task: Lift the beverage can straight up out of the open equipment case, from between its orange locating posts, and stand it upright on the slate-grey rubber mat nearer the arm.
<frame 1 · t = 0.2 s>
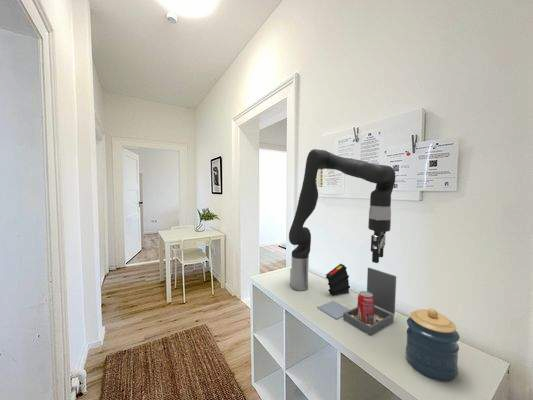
hand: (377, 259, 86), 27 cm above the table, tool pointing down, fingers open, 8 cm apart
rubber mat: (334, 310, 100), on the table
beverage can: (365, 323, 91), resting in equipment case
magazine: (337, 294, 116), on the table
canister: (430, 365, 69), on the table
equipment case: (368, 321, 92), on the table
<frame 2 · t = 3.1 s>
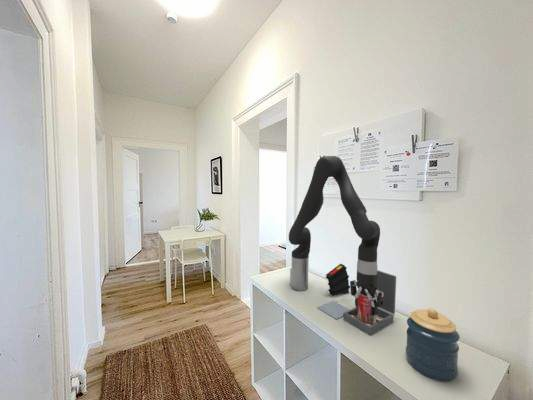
hand: (365, 310, 91), 5 cm above the table, tool pointing down, fingers closed on beverage can, 6 cm apart
beverage can: (365, 323, 91), resting in equipment case, touching gripper
everything else where it was.
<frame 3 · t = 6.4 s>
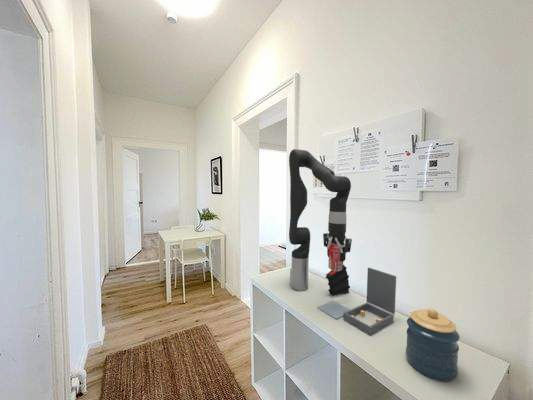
hand: (336, 258, 99), 23 cm above the table, tool pointing down, fingers closed on beverage can, 6 cm apart
beverage can: (335, 269, 100), point 18 cm above the table, touching gripper
everything else where it was.
when the fingers open (6 cm above the table, at t = 9.9 s): beverage can stays where it is, resting on rubber mat.
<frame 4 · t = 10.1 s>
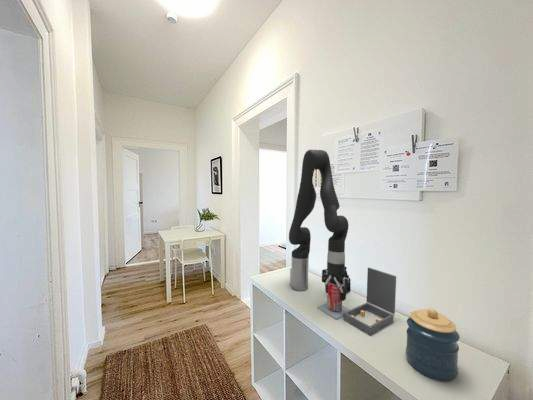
hand: (335, 296, 100), 6 cm above the table, tool pointing down, fingers open, 8 cm apart
beverage can: (334, 309, 100), resting on rubber mat
everything else where it was.
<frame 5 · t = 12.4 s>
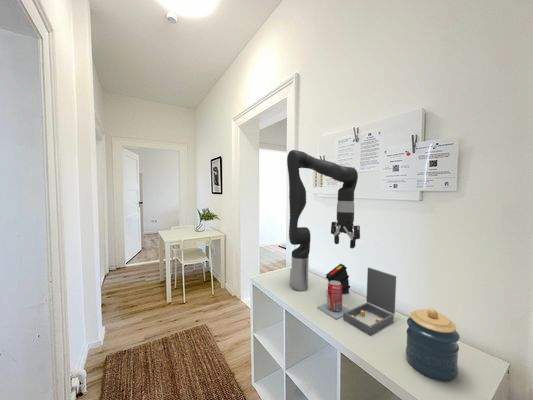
hand: (344, 246, 103), 28 cm above the table, tool pointing down, fingers open, 8 cm apart
nothing on the table moved.
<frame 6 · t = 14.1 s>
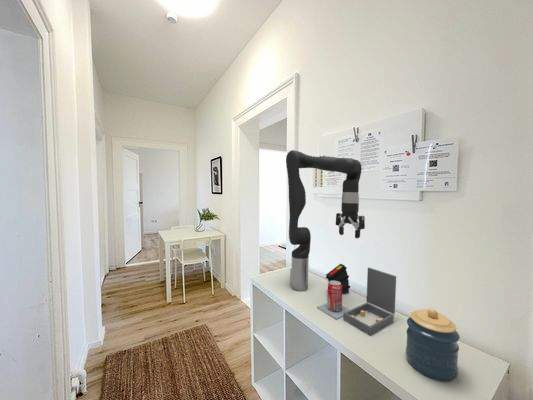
hand: (349, 236, 105), 32 cm above the table, tool pointing down, fingers open, 8 cm apart
nothing on the table moved.
at the end: beverage can inside the target area on the rubber mat (0.1 cm from its centre), point 0.3 cm above the rubber mat's base; beverage can tilted 0°; the gripper is holding nothing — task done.
